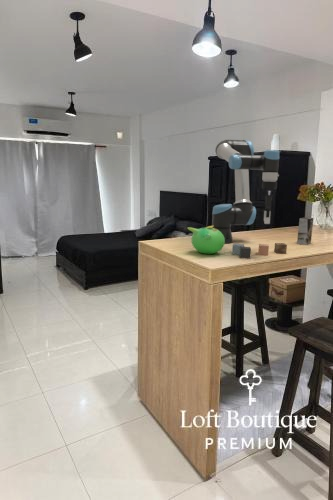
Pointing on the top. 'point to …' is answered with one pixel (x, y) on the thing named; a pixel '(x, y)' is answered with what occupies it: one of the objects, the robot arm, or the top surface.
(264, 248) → the terracotta cube
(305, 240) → the coffee box
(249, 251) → the black rubber cube
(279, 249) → the walnut cube
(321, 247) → the top surface
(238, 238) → the top surface
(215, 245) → the toy bird
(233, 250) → the slate grey cube
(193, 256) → the top surface
